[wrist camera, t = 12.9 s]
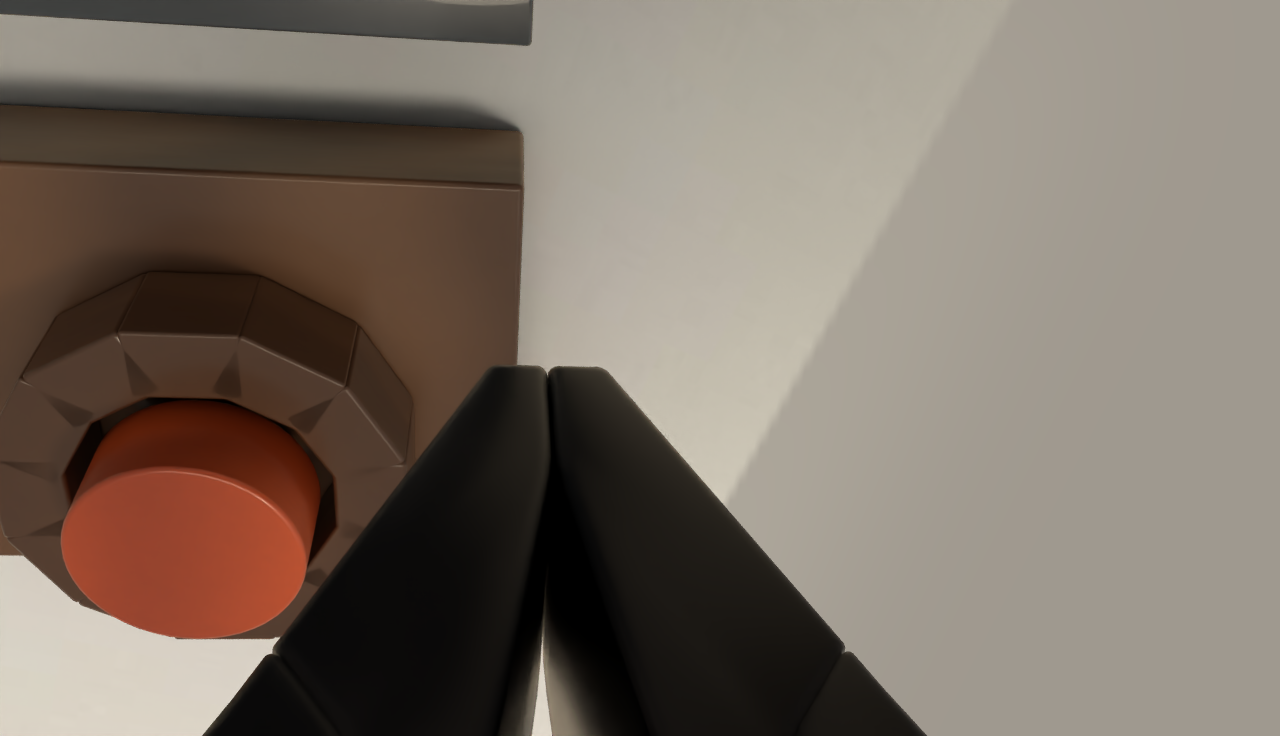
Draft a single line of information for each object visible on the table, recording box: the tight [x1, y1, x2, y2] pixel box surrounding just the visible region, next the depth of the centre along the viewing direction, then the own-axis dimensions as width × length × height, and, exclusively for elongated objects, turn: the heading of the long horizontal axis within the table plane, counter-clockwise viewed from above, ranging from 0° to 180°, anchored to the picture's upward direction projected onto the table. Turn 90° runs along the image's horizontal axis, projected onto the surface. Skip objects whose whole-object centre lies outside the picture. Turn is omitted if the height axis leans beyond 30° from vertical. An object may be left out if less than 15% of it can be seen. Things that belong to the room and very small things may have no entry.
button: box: [61, 399, 320, 639], centre depth 19 cm, size 4×4×2 cm
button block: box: [0, 105, 524, 639], centre depth 20 cm, size 10×8×4 cm
